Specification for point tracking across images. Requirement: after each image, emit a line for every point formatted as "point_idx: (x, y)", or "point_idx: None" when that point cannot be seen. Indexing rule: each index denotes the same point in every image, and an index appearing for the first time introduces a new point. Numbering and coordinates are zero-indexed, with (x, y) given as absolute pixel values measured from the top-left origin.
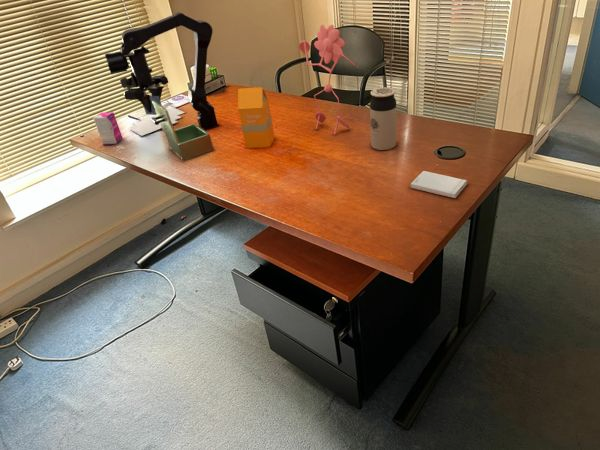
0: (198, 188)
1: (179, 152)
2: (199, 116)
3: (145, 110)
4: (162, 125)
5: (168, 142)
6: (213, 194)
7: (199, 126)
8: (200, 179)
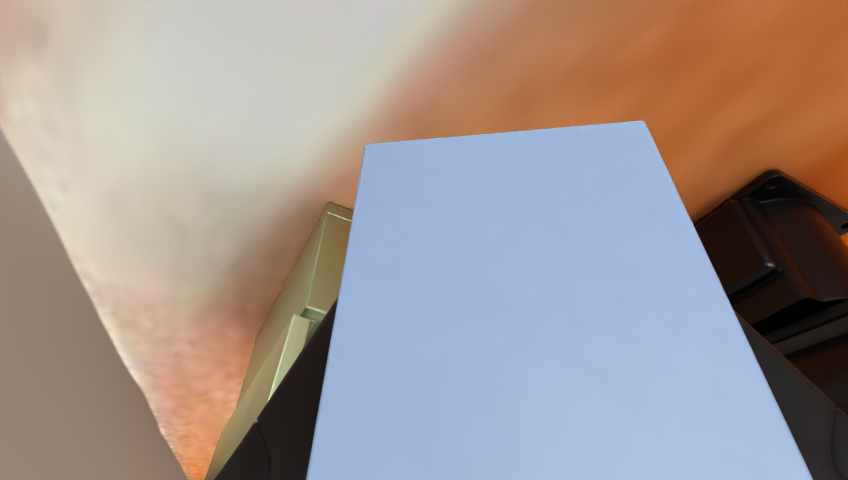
0: (165, 431)
1: (253, 359)
2: (746, 303)
3: (356, 223)
4: (253, 414)
5: (314, 251)
6: (178, 456)
7: (728, 203)
8: (204, 419)
